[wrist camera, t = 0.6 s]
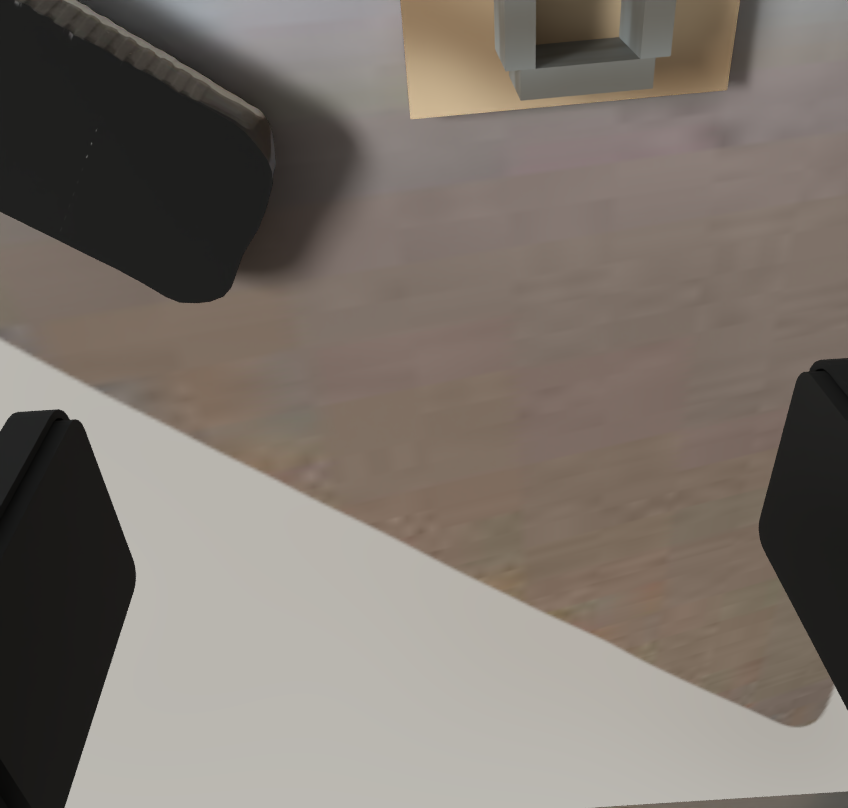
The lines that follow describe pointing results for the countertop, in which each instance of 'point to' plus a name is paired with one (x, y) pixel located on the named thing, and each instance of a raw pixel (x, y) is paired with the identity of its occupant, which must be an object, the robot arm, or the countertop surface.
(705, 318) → the countertop surface
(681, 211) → the countertop surface
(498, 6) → the holder
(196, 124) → the black sponge
